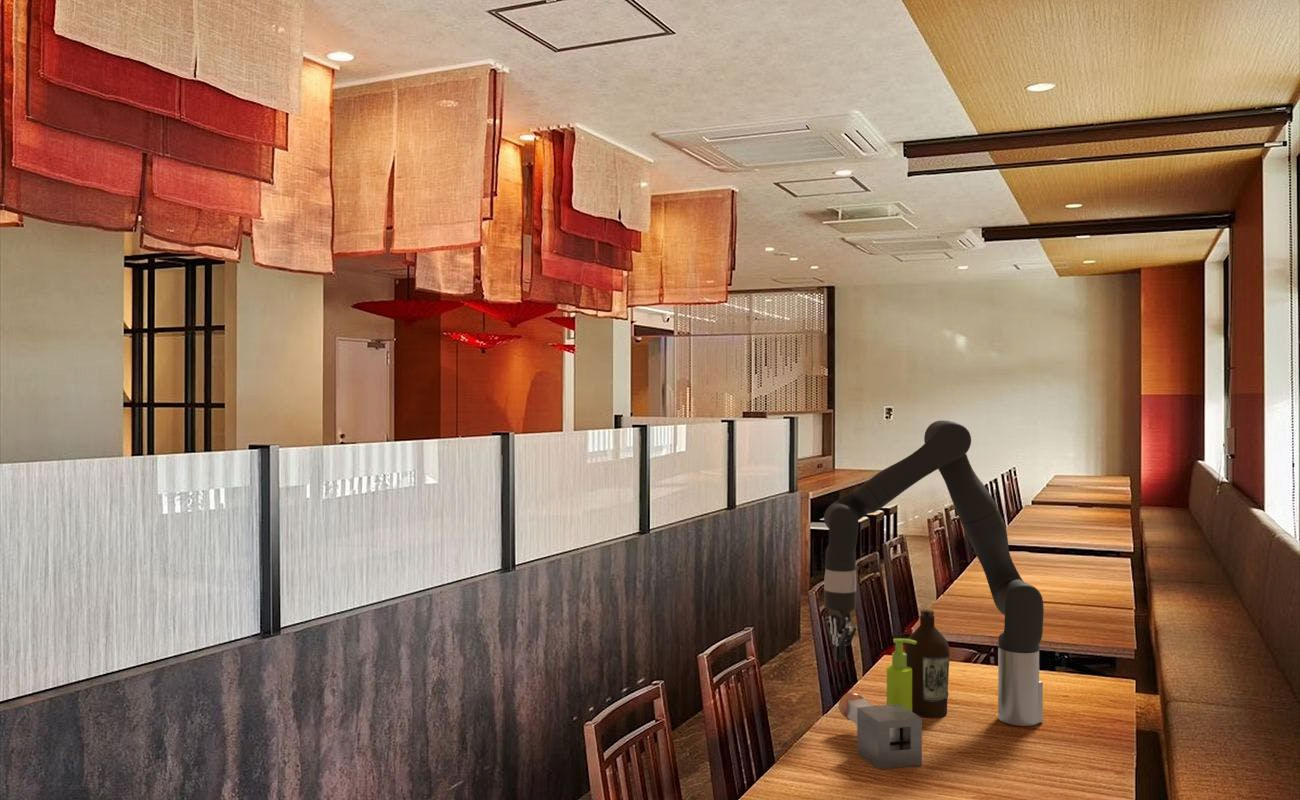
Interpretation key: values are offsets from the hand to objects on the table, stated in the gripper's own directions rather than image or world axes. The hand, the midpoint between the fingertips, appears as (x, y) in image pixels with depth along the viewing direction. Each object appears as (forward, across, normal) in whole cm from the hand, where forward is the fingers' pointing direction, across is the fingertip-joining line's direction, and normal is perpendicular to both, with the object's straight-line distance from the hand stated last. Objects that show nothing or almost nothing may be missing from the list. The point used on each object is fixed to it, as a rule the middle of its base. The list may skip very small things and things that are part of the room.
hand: (839, 661), depth 247 cm
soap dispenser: (+15, -4, -14) cm, 21 cm away
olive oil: (+15, +2, -24) cm, 28 cm away
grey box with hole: (+15, -25, 0) cm, 29 cm away
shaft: (+12, -16, 0) cm, 20 cm away
